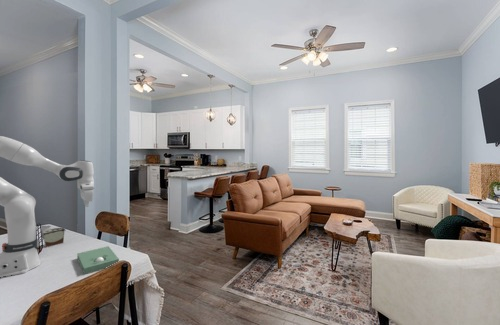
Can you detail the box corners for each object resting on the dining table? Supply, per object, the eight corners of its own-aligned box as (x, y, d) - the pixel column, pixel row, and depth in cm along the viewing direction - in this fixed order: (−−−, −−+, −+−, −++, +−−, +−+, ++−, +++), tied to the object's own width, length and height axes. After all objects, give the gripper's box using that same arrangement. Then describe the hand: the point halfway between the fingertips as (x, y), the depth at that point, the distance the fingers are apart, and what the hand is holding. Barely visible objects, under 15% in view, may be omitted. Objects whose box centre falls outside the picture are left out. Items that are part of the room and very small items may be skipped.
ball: (97, 267, 129) (95, 263, 127) (95, 261, 132) (93, 258, 129) (105, 263, 132) (104, 260, 129) (103, 258, 134) (102, 254, 132)
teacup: (47, 240, 166) (47, 229, 165) (24, 243, 161) (24, 231, 160) (54, 233, 179) (54, 223, 179) (33, 236, 174) (33, 225, 174)
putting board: (84, 274, 121) (84, 268, 121) (77, 258, 138) (77, 253, 138) (118, 264, 132) (118, 259, 132) (108, 250, 149) (108, 246, 149)
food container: (62, 240, 166) (62, 226, 166) (65, 242, 163) (65, 228, 162) (40, 246, 156) (39, 231, 156) (42, 248, 153) (42, 233, 152)
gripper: (77, 184, 158) (78, 204, 158) (82, 187, 143) (83, 210, 143) (88, 183, 162) (89, 203, 163) (94, 186, 147) (95, 208, 148)
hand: (86, 206), depth 153 cm, fingers closed
